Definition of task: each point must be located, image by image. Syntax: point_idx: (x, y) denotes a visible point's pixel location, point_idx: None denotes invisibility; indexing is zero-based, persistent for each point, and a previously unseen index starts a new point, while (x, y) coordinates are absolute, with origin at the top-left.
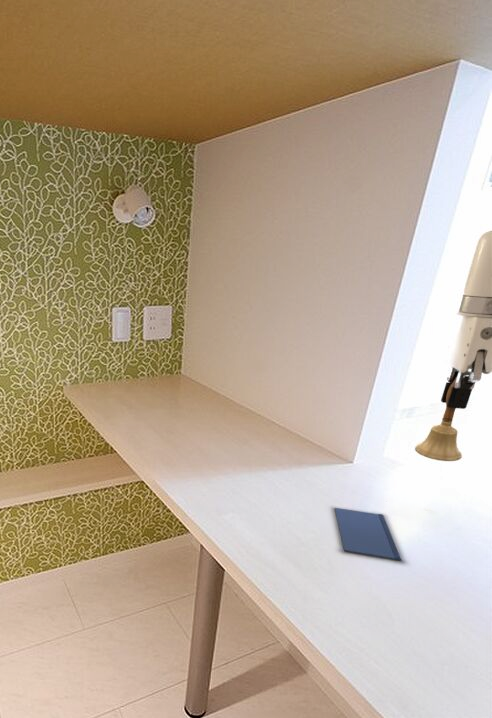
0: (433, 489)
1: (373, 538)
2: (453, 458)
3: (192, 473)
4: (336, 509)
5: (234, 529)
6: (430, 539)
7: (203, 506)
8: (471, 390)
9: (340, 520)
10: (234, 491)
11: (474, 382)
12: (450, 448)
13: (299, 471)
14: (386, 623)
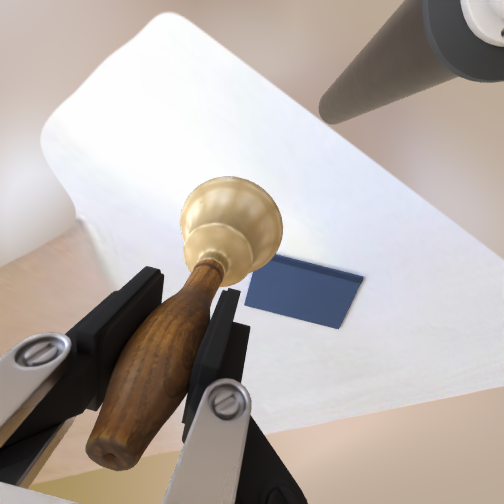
0: (155, 111)
1: (317, 289)
2: (279, 223)
3: (176, 420)
4: (248, 305)
5: (293, 408)
6: (319, 212)
7: None
8: (220, 358)
9: (276, 310)
10: None
11: (298, 494)
12: (264, 235)
13: None
14: (455, 336)
